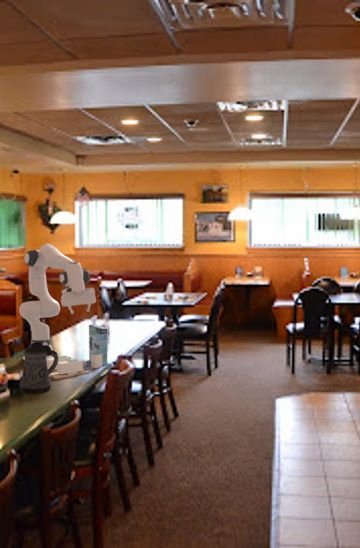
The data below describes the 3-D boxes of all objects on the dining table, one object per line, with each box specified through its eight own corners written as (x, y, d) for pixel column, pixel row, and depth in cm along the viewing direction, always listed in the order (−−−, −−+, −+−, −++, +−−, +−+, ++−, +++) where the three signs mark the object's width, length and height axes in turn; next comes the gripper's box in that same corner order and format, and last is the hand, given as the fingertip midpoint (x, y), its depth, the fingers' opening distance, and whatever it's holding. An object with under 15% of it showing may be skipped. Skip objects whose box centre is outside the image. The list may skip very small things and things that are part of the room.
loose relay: (75, 367, 389) (75, 362, 388) (83, 365, 393) (83, 361, 392) (78, 368, 386) (78, 363, 385) (87, 366, 390) (86, 362, 389)
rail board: (39, 373, 374) (39, 359, 373) (72, 367, 387) (72, 353, 387) (55, 379, 358) (55, 364, 358) (89, 372, 372) (89, 358, 371)
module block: (91, 366, 388) (90, 353, 388) (98, 365, 392) (97, 352, 391) (95, 368, 385) (95, 354, 384) (102, 367, 388) (102, 353, 387)
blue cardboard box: (89, 359, 409) (88, 324, 407) (96, 359, 411) (95, 324, 410) (100, 365, 392) (99, 329, 390) (108, 364, 394) (107, 328, 393)
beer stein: (13, 390, 335) (12, 343, 333) (45, 383, 349) (44, 338, 347) (30, 395, 323) (29, 347, 321) (62, 388, 337) (61, 342, 335)
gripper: (92, 288, 375) (95, 311, 373) (59, 291, 365) (62, 315, 364) (95, 286, 369) (99, 310, 367) (61, 290, 360) (65, 314, 358)
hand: (80, 312), depth 366 cm, fingers open, 8 cm apart
